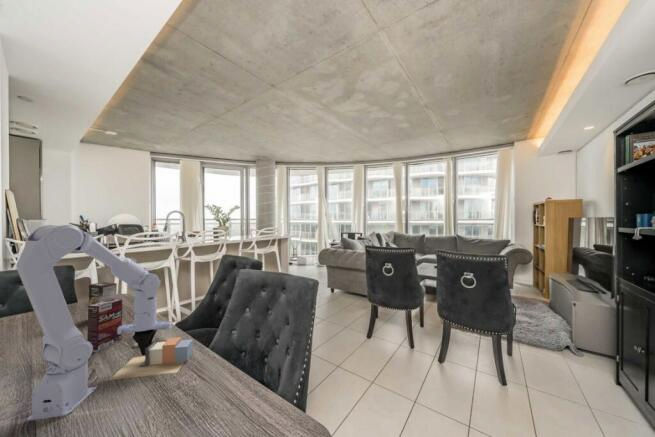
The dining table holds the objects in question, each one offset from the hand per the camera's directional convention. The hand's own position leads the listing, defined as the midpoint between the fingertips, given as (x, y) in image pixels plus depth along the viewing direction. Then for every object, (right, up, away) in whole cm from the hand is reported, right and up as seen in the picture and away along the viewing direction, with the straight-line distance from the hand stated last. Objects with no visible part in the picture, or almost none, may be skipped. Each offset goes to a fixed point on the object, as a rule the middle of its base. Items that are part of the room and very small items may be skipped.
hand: (145, 353), depth 78 cm
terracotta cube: (+8, -2, +1) cm, 8 cm away
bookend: (+1, -2, 0) cm, 2 cm away
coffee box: (-48, -4, +38) cm, 61 cm away
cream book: (+4, -2, +1) cm, 5 cm away
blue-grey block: (+11, -2, +2) cm, 12 cm away
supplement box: (-23, -4, +11) cm, 25 cm away
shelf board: (+4, -3, -2) cm, 5 cm away
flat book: (-10, -4, +12) cm, 16 cm away
